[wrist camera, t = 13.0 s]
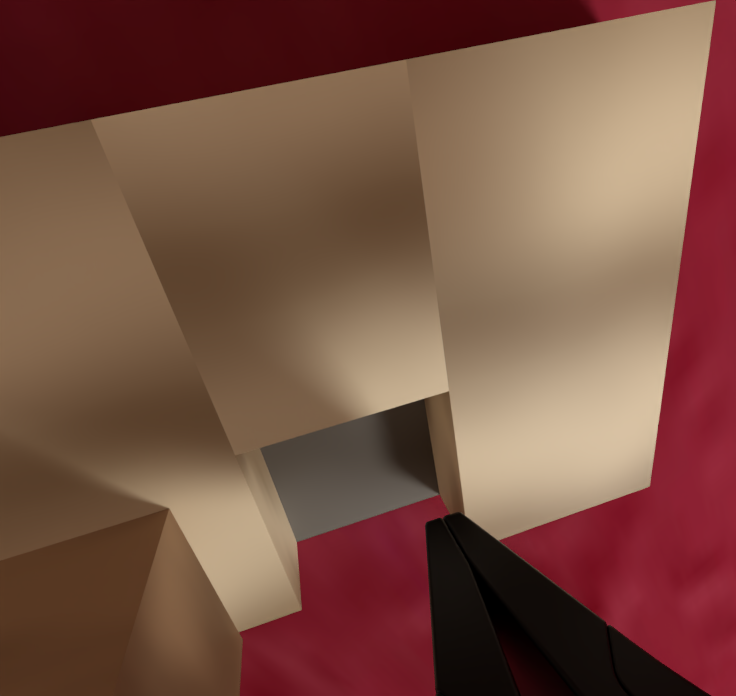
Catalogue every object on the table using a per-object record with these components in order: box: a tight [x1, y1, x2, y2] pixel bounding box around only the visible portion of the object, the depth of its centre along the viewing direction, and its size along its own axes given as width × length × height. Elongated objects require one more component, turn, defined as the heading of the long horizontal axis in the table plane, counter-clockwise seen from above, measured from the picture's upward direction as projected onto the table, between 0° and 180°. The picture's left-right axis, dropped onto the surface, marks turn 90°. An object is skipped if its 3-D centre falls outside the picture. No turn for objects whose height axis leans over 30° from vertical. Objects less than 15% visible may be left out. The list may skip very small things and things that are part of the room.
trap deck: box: [0, 0, 716, 632], centre depth 8 cm, size 12×25×6 cm, turn 101°
